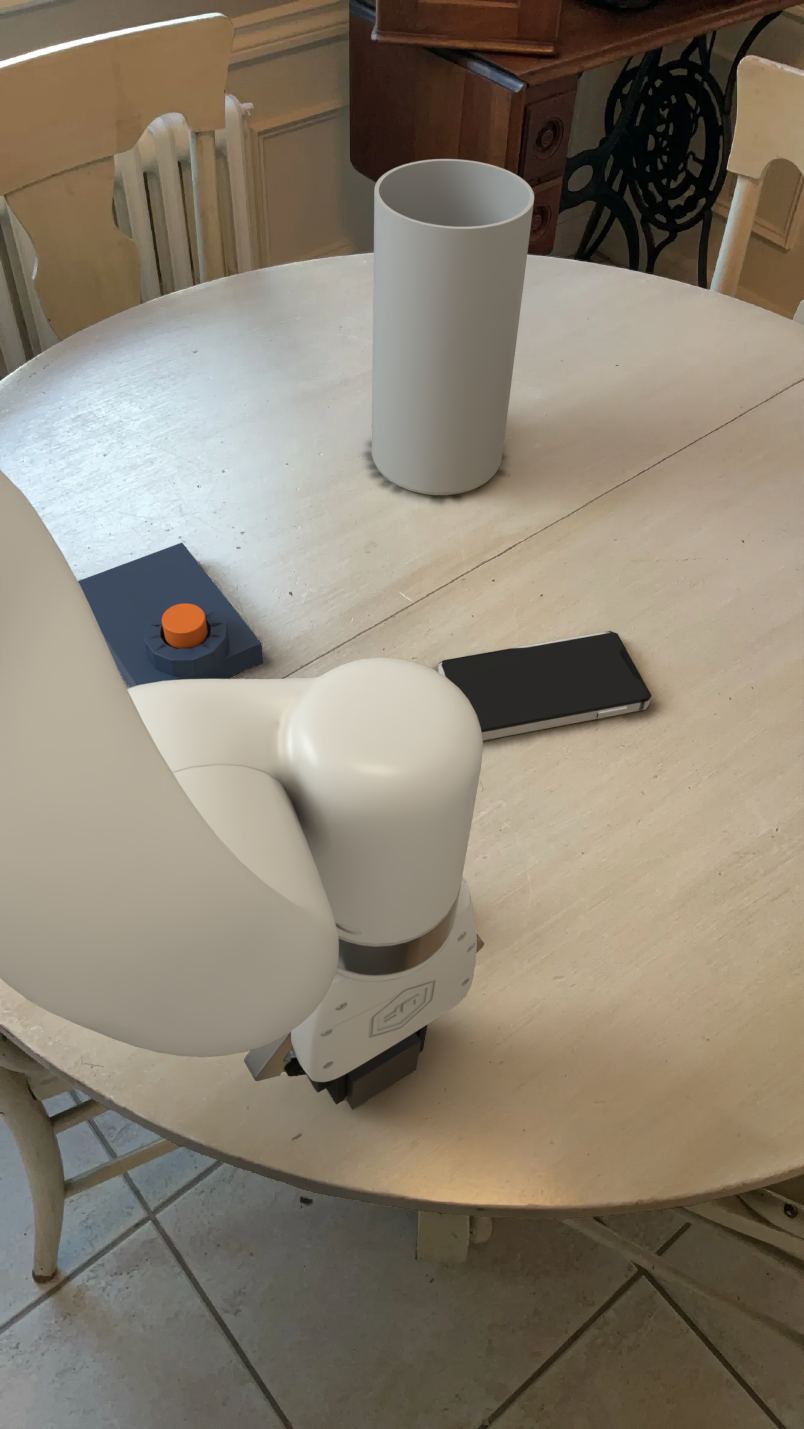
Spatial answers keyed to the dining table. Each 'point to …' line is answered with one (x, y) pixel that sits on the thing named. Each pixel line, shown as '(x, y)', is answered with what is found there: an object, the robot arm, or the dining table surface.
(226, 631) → the button base
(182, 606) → the power button
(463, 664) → the smartphone
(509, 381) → the cylinder vase
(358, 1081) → the block
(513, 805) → the dining table surface
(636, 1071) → the dining table surface
